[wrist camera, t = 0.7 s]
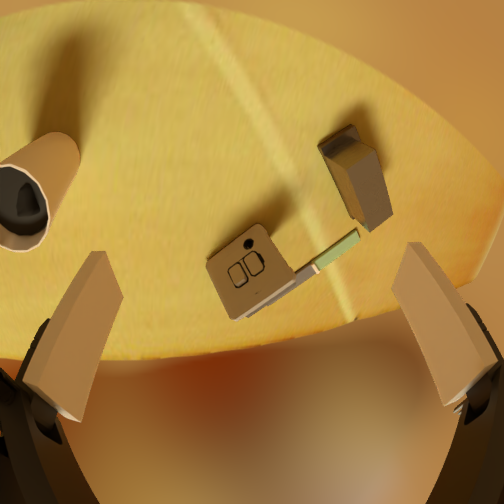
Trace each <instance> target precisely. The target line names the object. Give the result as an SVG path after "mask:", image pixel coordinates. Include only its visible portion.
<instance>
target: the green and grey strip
mask: <svg viewBox="0 0 504 504" xmlns="http://www.w3.org/2000/svg"><path fill="white" fill-rule="evenodd" d="M359 241H360V238H359V235H358V233H357V231H356V230H353V231H352V232H351V233H349V234H348V235H347V236H345V237H344V238H343V239H341V240H340V241H339V242H337V243H336V244H335V245H333V246H332V247H330V248H329V249H328V250H326V251H325V252H324V253H322V254H321V255H319V256H318V257H317V258H315V259H314V260H313V261H311V262H310V263H308V264H307V265H306V266H304V267H303V268H301V269H300V270H298V271H297V272H296V273H295V274H296V280H295V284H296V285H295V286H294V287H292V288H291V289H289V290H288V291H287V292H285V293H284V294H282V295H281V296H279V297H278V298H277V299H275V300H274V301H272V302H271V303H269V304H268V305H267V306H269V305H271V304H272V303H274V302H275V301H277V300H278V299H280V298H281V297H283V296H284V295H286V294H287V293H288V292H290V291H291V290H293V289H294V288H296V287H297V286H299V285H300V284H302V283H303V282H304V281H306V280H307V279H309V278H310V277H311V276H313V275H314V274H316V273H317V274H319V273H320V272H319V271H320V270H321V269H323V268H324V267H326V266H327V265H328V264H330V263H331V262H332V261H334V260H335V259H337V258H338V257H339V256H341V255H342V254H343V253H345V252H346V251H347V250H349V249H350V248H351V247H353V246H354V245H355V244H357V243H358V242H359Z"/></svg>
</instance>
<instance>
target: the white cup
mask: <svg viewBox="0 0 504 504" xmlns="http://www.w3.org/2000/svg"><path fill="white" fill-rule="evenodd" d="M79 166H80V152H79V150H78V147H77V145H76V143H75V142H74V141H73V140H72V139H71V138H70V136H69V135H66V134H64V133H61V132H50V133H47V134H45V135H44V136H42V137H40V138H38V139H37V140H35V141H33V142H32V143H30V144H28V145H27V146H25V147H23V148H22V149H20V150H19V151H17V152H15V153H14V154H12V155H11V156H9V157H8V158H6V159H5V160H3V161H2V162H1V163H0V247H2V248H5V249H7V250H10V251H12V252H28V251H30V250H32V249H34V248H36V247H38V246H39V245H40V244H41V242H42V241H43V240H44V238H45V237H46V235H47V234H48V231H49V229H50V227H51V225H52V222H53V220H54V218H55V216H56V213H57V211H58V209H59V207H60V205H61V203H62V201H63V199H64V197H65V195H66V193H67V191H68V189H69V187H70V185H71V184H72V182H73V180H74V178H75V176H76V174H77V172H78V169H79Z"/></svg>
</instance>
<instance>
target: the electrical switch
mask: <svg viewBox="0 0 504 504" xmlns="http://www.w3.org/2000/svg"><path fill="white" fill-rule="evenodd" d="M206 269H207V271H208V273H209V275H210V277H211V280H212V282H213V284H214V286H215V288H216V290H217V292H218V295H219V297H220V299H221V301H222V303H223V305H224V307H225V309H226V311H227V313H228V315H229V318H230V319H232V320H234V321H239V320H241V319H242V318H244V317H248V318H249V317H250V316H252V315H253V314H255V313H256V312H258V311H259V310H261V309H262V308H264V307H265V306H266V305H268V304H269V303H271V302H272V301H274V300H275V299H277V298H278V297H279V296H281V295H282V294H284V293H285V292H287V291H288V290H289V289H291V288H292V287H294V286H295V285H296V284H295V280H296V274H295V273H294V271H293V270H292V268H291V267H289V266H288V264H287V263H286V261H285V260H284V258H283V257H282V255H281V254H280V252H279V251H278V249H277V248H276V246H275V245H274V243H273V242H272V240H271V239H270V237H269V236H268V232H267V231H266V230H265V228H264V227H263V226H262V225H260V224H255V225H254V226H252V227H251V228H250V229H248V230H247V231H246V232H244V233H243V234H242V235H241V236H239V237H238V238H237V239H235V240H234V241H233V242H231V243H230V244H229V245H228V246H226V247H225V248H224V249H222V250H221V251H220V252H219V253H217V254H216V255H215V256H213V257H212V258H211V259H210V260H208V261H207V263H206Z"/></svg>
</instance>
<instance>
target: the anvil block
mask: <svg viewBox="0 0 504 504" xmlns="http://www.w3.org/2000/svg"><path fill="white" fill-rule="evenodd" d="M317 147H318V149H319V151H320V153H321V155H322V157H323V159H324V161H325V163H326V165H327V167H328V169H329V171H330V173H331V175H332V178H333V180H334V182H335V184H336V186H337V188H338V190H339V193H340V195H341V197H342V199H343V202H344V204H345V206H346V209H347V211H348V213H349V216H350V217H351V218H352V219H356V220H357V221H358V222H359V223H360V224H361V225H362V226H363V227H364V228H365V229H366V230H368V231H369V232H371V231H373V230H374V229H375V228H376V227H378V226H379V225H380V224H382V223H383V222H384V221H385V220H387V219H388V218H389V217H390V216H392V215H393V211H392V207H391V203H390V199H389V195H388V191H387V187H386V184H385V180H384V177H383V173H382V170H381V166H380V163H379V160H378V157H377V154H376V151H375V149H373V148H371V147H369V146H367V145H365V144H364V143H362V142H361V140H360V138H359V135H358V132H357V130H356V127H355V126H354V125H352V124H350V125H349V126H347V127H346V128H344V129H343V130H341V131H339V132H338V133H336V134H335V135H333V136H332V137H330V138H329V139H327V140H326V141H324V142H323V143H321V144H320V145H318V146H317Z"/></svg>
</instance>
